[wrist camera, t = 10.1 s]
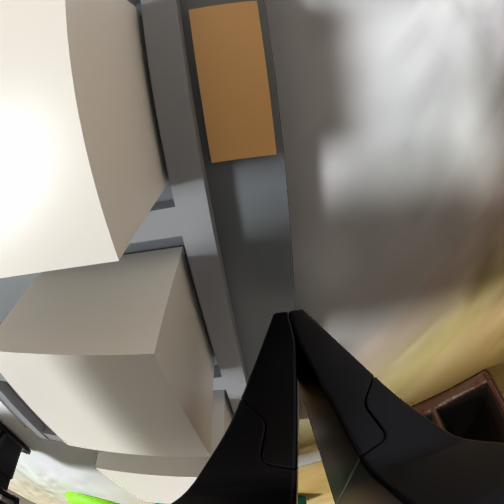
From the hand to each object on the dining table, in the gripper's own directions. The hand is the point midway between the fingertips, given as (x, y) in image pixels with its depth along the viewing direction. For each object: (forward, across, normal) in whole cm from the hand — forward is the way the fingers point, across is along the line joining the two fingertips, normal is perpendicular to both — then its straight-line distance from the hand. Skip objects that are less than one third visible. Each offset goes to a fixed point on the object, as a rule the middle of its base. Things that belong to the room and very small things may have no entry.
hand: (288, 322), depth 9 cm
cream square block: (+1, +5, -7) cm, 8 cm away
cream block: (+1, +5, 0) cm, 5 cm away
